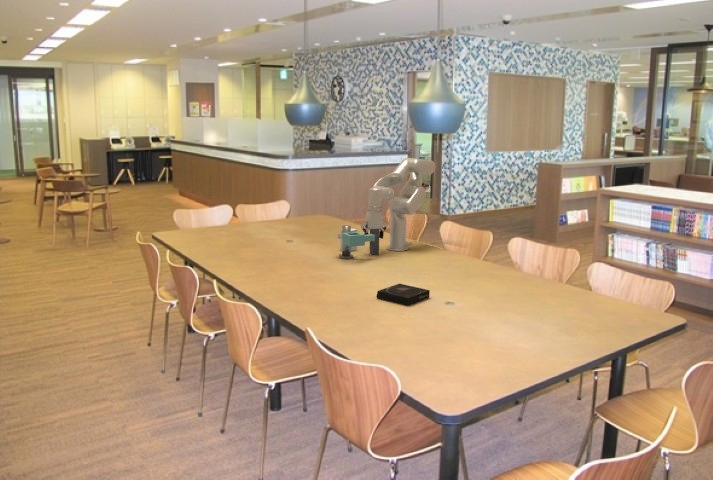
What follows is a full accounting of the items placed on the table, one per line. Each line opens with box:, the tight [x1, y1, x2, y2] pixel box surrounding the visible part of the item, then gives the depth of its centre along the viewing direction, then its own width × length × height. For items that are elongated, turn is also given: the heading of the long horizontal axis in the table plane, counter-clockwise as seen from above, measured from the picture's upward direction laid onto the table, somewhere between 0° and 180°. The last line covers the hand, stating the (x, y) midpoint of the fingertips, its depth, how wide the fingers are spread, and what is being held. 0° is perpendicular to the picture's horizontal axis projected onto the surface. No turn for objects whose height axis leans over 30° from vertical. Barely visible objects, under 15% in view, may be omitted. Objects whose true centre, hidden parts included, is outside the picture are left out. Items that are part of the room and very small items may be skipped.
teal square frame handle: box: [342, 231, 375, 247], centre depth 346 cm, size 17×9×6 cm, turn 118°
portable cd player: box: [375, 283, 431, 307], centre depth 276 cm, size 16×17×4 cm
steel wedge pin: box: [369, 229, 380, 256], centre depth 360 cm, size 4×4×18 cm
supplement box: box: [339, 228, 358, 252], centre depth 372 cm, size 7×7×13 cm
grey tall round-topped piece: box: [337, 224, 354, 260], centre depth 352 cm, size 10×10×18 cm
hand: (373, 238), depth 360 cm, fingers open, 9 cm apart
